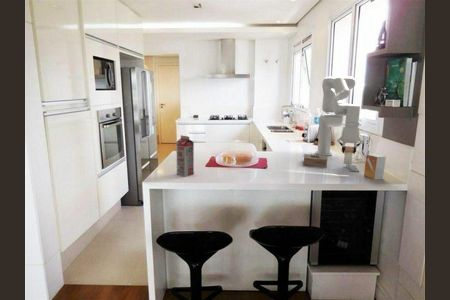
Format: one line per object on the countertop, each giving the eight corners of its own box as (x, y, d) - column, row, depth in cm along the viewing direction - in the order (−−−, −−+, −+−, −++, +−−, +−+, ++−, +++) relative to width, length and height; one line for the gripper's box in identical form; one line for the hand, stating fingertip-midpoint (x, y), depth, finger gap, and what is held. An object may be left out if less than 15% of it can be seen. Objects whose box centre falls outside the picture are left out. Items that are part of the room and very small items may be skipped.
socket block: (303, 162, 197) (304, 153, 196) (324, 164, 194) (325, 155, 193) (303, 167, 184) (304, 158, 183) (326, 169, 180) (327, 159, 179)
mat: (335, 164, 193) (335, 163, 193) (355, 166, 190) (355, 165, 190) (338, 170, 178) (338, 169, 178) (359, 172, 175) (359, 171, 174)
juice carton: (185, 172, 166) (185, 134, 161) (193, 174, 162) (193, 136, 157) (176, 174, 161) (176, 135, 156) (184, 177, 156) (184, 137, 152)
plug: (342, 162, 186) (343, 145, 184) (351, 163, 185) (353, 146, 183) (343, 164, 181) (345, 147, 179) (352, 165, 179) (354, 147, 177)
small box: (363, 175, 167) (366, 153, 165) (372, 175, 169) (374, 153, 167) (374, 179, 160) (377, 156, 157) (383, 178, 162) (386, 156, 159)
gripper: (365, 124, 180) (362, 153, 183) (336, 123, 184) (333, 151, 188) (367, 126, 173) (364, 155, 176) (337, 124, 177) (334, 153, 180)
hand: (348, 152), depth 182 cm, fingers closed on plug, 5 cm apart
